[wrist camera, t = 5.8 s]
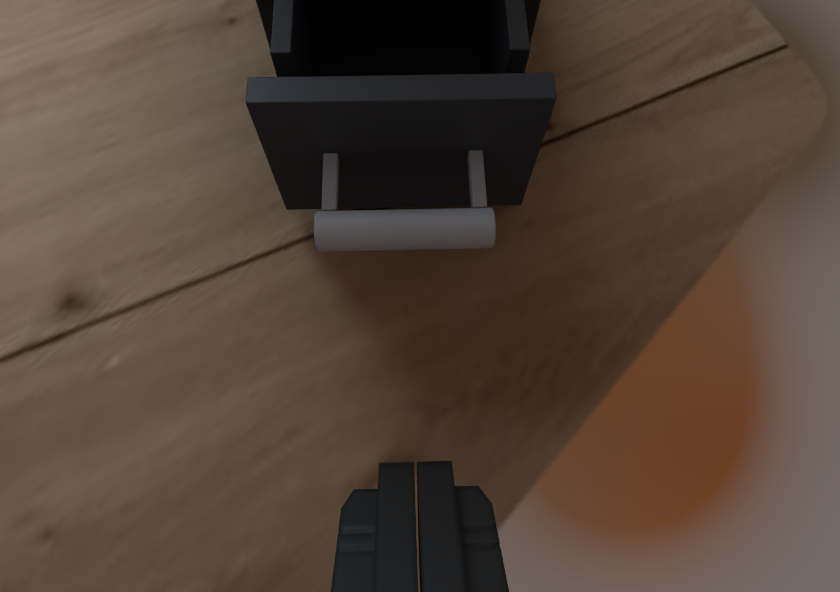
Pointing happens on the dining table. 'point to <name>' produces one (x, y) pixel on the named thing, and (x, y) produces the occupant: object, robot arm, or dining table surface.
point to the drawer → (401, 118)
